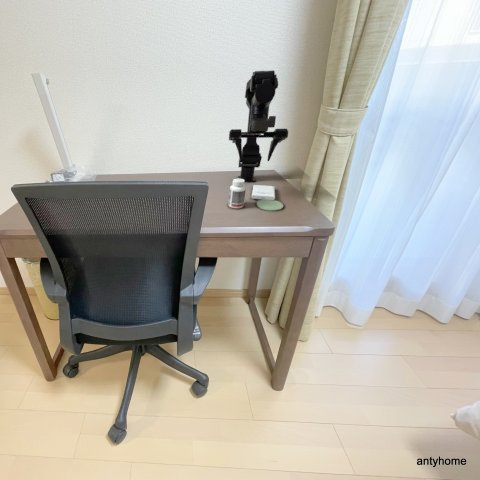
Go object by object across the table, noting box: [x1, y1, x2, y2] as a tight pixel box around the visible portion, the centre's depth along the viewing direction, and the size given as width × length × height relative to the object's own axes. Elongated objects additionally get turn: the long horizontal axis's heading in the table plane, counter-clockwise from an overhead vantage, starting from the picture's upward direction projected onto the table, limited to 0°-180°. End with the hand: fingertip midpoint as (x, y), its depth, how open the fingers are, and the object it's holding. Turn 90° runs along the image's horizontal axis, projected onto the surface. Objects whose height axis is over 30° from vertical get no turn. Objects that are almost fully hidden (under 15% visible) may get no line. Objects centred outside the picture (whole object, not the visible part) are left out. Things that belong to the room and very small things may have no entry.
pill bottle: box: [228, 177, 247, 209], centre depth 92 cm, size 5×5×10 cm
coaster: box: [256, 199, 284, 212], centre depth 93 cm, size 9×9×1 cm
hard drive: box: [251, 184, 276, 200], centre depth 101 cm, size 2×8×12 cm
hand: (254, 161), depth 90 cm, fingers open, 9 cm apart
